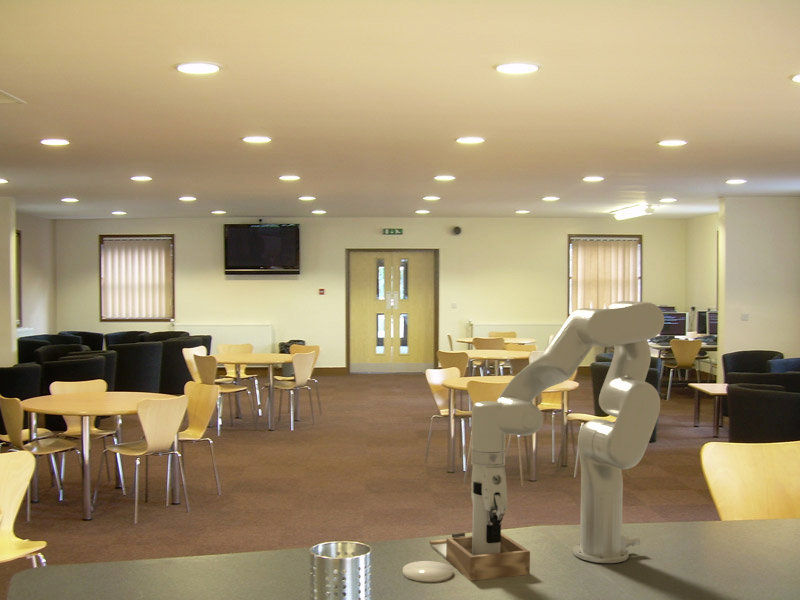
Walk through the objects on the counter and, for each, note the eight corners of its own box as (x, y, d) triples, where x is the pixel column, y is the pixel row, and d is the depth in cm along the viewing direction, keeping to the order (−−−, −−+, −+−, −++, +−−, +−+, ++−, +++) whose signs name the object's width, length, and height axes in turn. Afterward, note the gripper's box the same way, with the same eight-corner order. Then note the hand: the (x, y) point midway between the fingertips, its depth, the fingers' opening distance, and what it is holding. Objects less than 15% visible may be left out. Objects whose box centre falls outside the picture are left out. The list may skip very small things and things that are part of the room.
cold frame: (482, 540, 203) (483, 516, 203) (529, 574, 179) (530, 547, 179) (429, 545, 199) (429, 521, 198) (470, 580, 175) (470, 553, 175)
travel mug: (500, 572, 180) (501, 481, 180) (470, 570, 181) (471, 480, 181) (502, 563, 186) (503, 475, 186) (473, 561, 187) (474, 473, 187)
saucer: (442, 562, 186) (442, 559, 186) (460, 579, 176) (461, 575, 176) (396, 567, 183) (396, 563, 183) (412, 584, 172) (412, 580, 172)
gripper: (520, 464, 176) (519, 548, 177) (487, 449, 193) (486, 525, 193) (488, 466, 174) (487, 551, 174) (457, 450, 190) (456, 528, 191)
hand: (486, 537), depth 184 cm, fingers closed on travel mug, 6 cm apart
